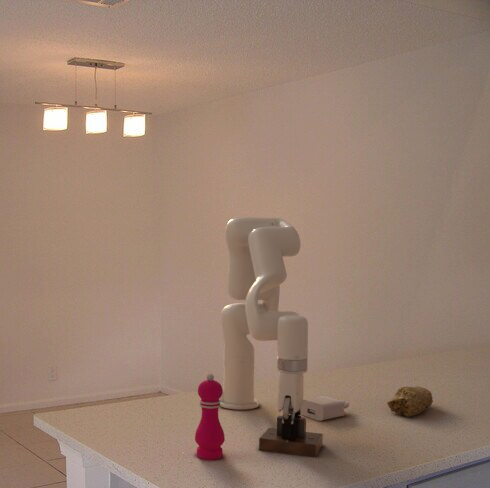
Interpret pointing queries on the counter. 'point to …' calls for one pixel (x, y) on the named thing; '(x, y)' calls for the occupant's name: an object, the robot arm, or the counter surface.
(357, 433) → the counter surface
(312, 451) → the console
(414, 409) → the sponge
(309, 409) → the charger
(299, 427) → the dark bar red tip
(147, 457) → the counter surface
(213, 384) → the pepper mill
